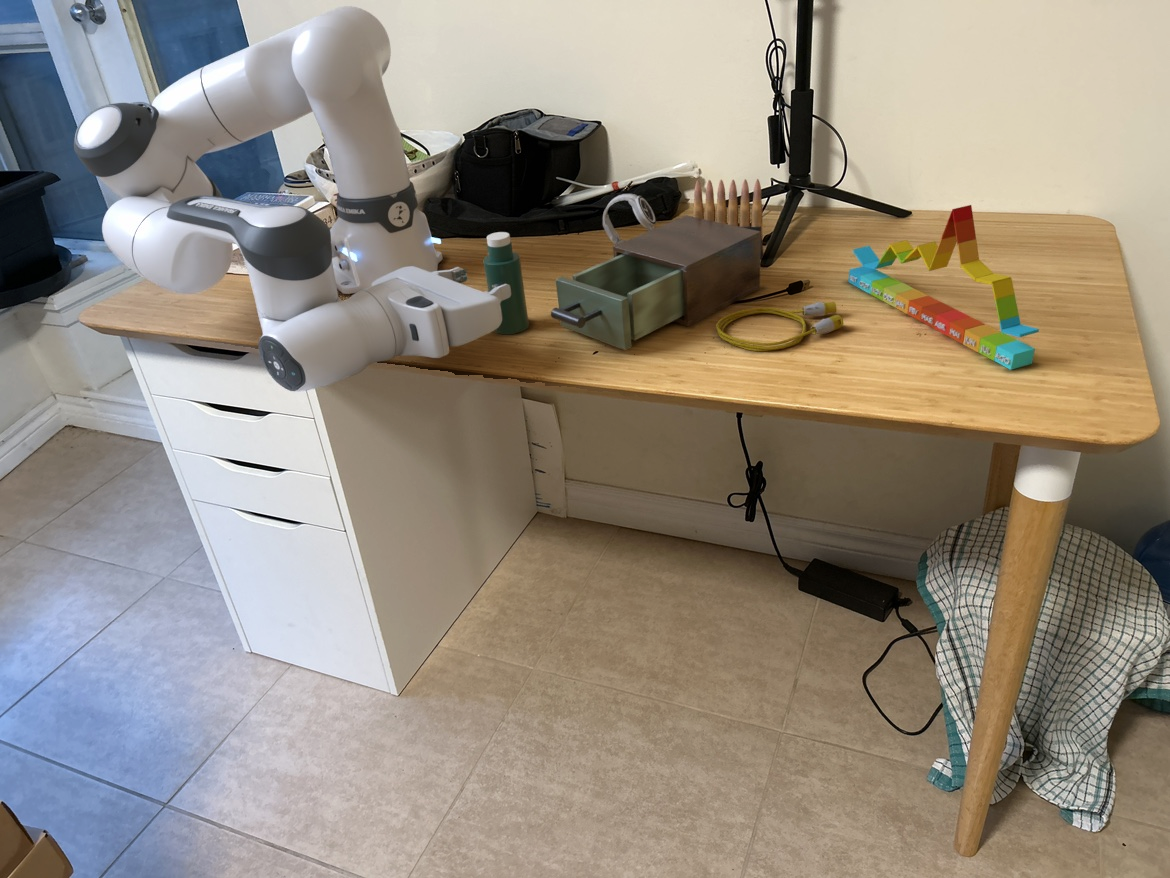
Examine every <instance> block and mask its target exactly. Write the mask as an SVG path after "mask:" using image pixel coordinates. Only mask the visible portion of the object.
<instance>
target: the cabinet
mask: <svg viewBox="0 0 1170 878" xmlns="http://www.w3.org/2000/svg"><path fill="white" fill-rule="evenodd" d="M760 236H761V231H756V230H751V229H747V228H742V227H738V226H733V225H729V224H724V223H719V222H716V220H715V221H710V220H706V219H705V218H704V219H701V218H697V217H693V215H685V216H681V217H679V218H677V219H675V220H672V221H670V222H668V223H665V224H663V225H660V226H658V227H656V228H654V229H653V230H651V231H646V232H644V233H642V234H639V235H637V236H634V237H632V238H630V239H627V240H624V241H625V242H622V243H620V244H616V245H615V244H614V245H613V246H612V254H613V255H612V256H613V258H614V257H616V256H619V255H621V254H625V255H629V256H633V257H636V258H640V259H643V260H647V261H651V262H654V263H658V264H662V265H665V266H669V267H672V268H676V269H680V270H683V293H684V315H683V316H682V317H680V318H678V319H676V320H674V321H672V322H673V323H677V324H680V325H683V326H686V327H690V326H692V325H694V324H696V323H698V322H700V321H701V320H704V319H705V318H707V317H709V316H711V315H713V314H715V313H716V312H718V311H721V310H723V309H725V308H726V307H728V306H730V305H732V304H734V303H736V302H737V301H739V300H741V299H743V298H745V297H746V296H749V295H751V294H753V293H754V292H757V291H759V290H760V289H761V259H760V250H761V237H760Z"/></svg>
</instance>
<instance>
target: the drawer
mask: <svg viewBox="0 0 1170 878" xmlns="http://www.w3.org/2000/svg"><path fill="white" fill-rule="evenodd" d="M571 277H572V279H571V278H569V277H565V276H560V277H557V278H556V279H555V287H556V295H557V304H558V307H554V308H552V310H550V311H551V312H550V317H551V318H552V319H554V320H557V321H559V322H560V326H561V327H563V328H565V329H568V330H570V331H573V332H576V333H578V334H581V335H584V336H586V337H589V338H592V339H594V340H597V341H600V342H602V343H605V344H608V345H610V346H613V347H616V348H618V349H621V350H623V351H627V350H629V349H631V348H632V347H633V346H632V341H638V340H639V339H641V338H643V337H644V336H647V335H648V334H650V333H652V332H654V331H656V330H658V329H660V328H662V327H665V326H666V325H668V324H670V323H672V322H673V321H674V320H676V319H678V318H680V317H682V316H683V315H684V293H683V270H680V269H676V268H672V267H669V266H665V265H662V264H658V263H654V262H651V261H647V260H643V259H640V258H636V257H633V256H629V255H625V254H621V255H619V256H616V257H614V256H613V257H612V258H610V259H607V260H605V261H602V262H601V263H598V264H595V265H593V266H591V267H589V268H586V269H584V270H582V271H580V272H578V273H575V274H572V276H571Z"/></svg>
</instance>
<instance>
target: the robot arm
mask: <svg viewBox="0 0 1170 878" xmlns="http://www.w3.org/2000/svg"><path fill="white" fill-rule="evenodd" d="M391 53H392V51H391V41H390V38H389V34H388V32H387V30H386V28H385V27H384V25H383V24H382V22H381V21H380V20H379V19H378V18H377V17H376V16H375V15H373V14H372V13H371V12H369V11H367V10H366V9H363V8H361V7H357V6H352V5H351V6H350V5H345V6H339V7H336V8H333V9H331V10H328V11H327V12H324V13H321V14H320V15H318V16H315V17H313V18H310V19H308V20H305V21H304V22H302V23H299V24H297V25H295V26H293V27H291V28H288V29H285V30H283V31H281V32H279V33H277V34H274V35H272V36H270V37H268V38H266V39H264V40H261V41H259V42H256V43H254V44H252V45H250V46H247V47H245V48H243V49H241V50H238V51H236V52H234V53H232V54H229V55H227V56H225V57H222V58H219V59H218V60H215V61H214V62H211V63H209V64H206V65H205V66H202V67H199V68H197V69H196V70H194V71H191V72H190V73H188V74H186V75H184V76H183V77H181V78H179V79H178V80H176V81H175V82H173V83H171V85H168V86H167V87H166V88H165V89H163V90H162V91H161V92H160V93H158V94H157V95H156V97H154V99H153V100H152V102H151V104H150V103H147V102H144V101H134V102H130V103H129V102H114V103H109V104H105V105H102V106H100V107H97V108H96V109H94V110H92V111H91V112H89V113H88V114H87V115H86V116H84V118H83V119H82V120H81V122H80V123H79V124H78V125H77V128H76V131H75V134H74V140H73V150H74V153H75V154H76V156H77V158H78V159H79V160H80V162H81V163H82V164H83V166H84V167H85V168H86V169H87V170H88V171H89V172H90V173H91V174H92V175H93V176H95V177H97V178H98V179H99V180H100V181H101V182H102V183H103V184H104V185H105V186H106V187H107V188H108V189H109V191H111V192H112V193H113V194H114V195H115V196H117V198H118V199H119V200H117V201H115V202H114V203H113V204H111V206H110V207H109V208H107V211H106V212H105V214H104V217H103V220H102V224H101V232H102V237H103V240H104V243H105V245H106V246H107V248H108V249H109V251H110V252H111V253H112V254H113V255H114V256H115V257H116V258H117V259H118V260H119V261H121V262H122V263H123V265H125V266H126V267H128V269H130V271H133V272H134V273H136V274H137V275H138V276H141V277H142V278H143V279H145V280H146V281H149V282H150V283H152V284H154V285H155V286H158V287H159V288H161V289H164V290H165V291H168V292H171V293H174V294H178V295H183V296H184V295H186V296H193V295H199V294H202V293H204V292H207V291H209V290H211V289H213V288H214V287H215V286H217V285H218V284H219V283H220V282H221V281H222V280H223V279H224V278H225V276H226V275H227V273H228V271H229V270H230V268H231V265H232V262H233V258H234V247H233V244H234V245H236V246H237V247H238V249H239V251H240V253H241V255H242V257H243V260H244V263H245V266H246V270H247V274H248V278H249V282H250V285H251V290H252V294H253V298H254V302H255V307H256V311H257V316H258V320H259V323H260V328H261V332H262V335H261V336H260V338H259V340H258V345H257V346H258V354H259V357H260V360H261V362H262V364H263V367H264V368H265V369H266V372H268V374H269V375H270V377H271V378H272V379H273V380H274V381H275V382H276V383H277V384H278V385H279V386H280V387H281V388H284V389H285V390H287V391H289V392H293V393H298V392H299V393H300V392H306V391H312V390H316V389H319V388H323V387H327V386H330V385H333V384H335V383H338V382H341V381H343V380H346V379H348V378H350V377H353V376H355V375H357V374H359V373H361V372H362V371H364V370H365V369H367V367H369V366H370V365H372V364H375V363H378V362H386V361H389V360H392V359H394V358H397V357H398V356H401V357H409V356H415V357H416V356H417V357H424V358H431V359H440V358H444V357H446V356H447V355H448V354H449V353H450V347H453V348H454V347H461V346H464V345H467V344H469V343H472V342H474V341H475V340H478V339H480V338H482V337H484V336H486V335H488V334H491V333H492V332H495V330H496V329H497V328H498V327H499V326H500V324H501V322H502V313H501V307H500V303H501V301H503V300H505V299H507V298H509V297H510V296H511V289H510V285H508V284H505V283H502V282H500V283H498V284H495V285H492V289H493V290H491V291H490V292H488V290H486V291H483V290H480V289H478V288H474V287H471V286H468V285H465V284H463V283H466V282H467V281H468V272H467V269H465V268H462V267H459V266H456V267H454V268H452V269H444V270H438V269H439V263H440V262H442V261H443V259H444V258H443V253H442V252H441V251H438V250H436V248H435V244H438V245H440V244H442V241H441V238H438V237H432V232H431V230H430V225H429V223H428V218H427V216H426V214H425V213H424V212H423V211H421V210H420V209H418V208H417V207H418V205H419V203H418V199H417V196H418V195H417V192H416V189H415V185H414V183H413V182H412V181H411V179H410V174H409V169H408V164H407V163H408V162H407V159H406V155H405V149H404V148H405V147H404V144H403V139H402V133H401V130H400V128H399V125H397V122H396V120H395V117H394V115H393V111H392V109H391V106H390V103H389V100H388V96H387V93H386V89H385V86H384V83H383V82H384V81H383V76H384V74H385V73H386V71H387V69H388V67H389V65H390V61H391V56H392V55H391ZM311 113H313V115H314V118H315V120H316V122H317V124H318V127H319V129H320V131H321V134H322V136H323V140H324V142H325V145H326V149H327V152H328V156H329V157H328V158H329V160H330V165H331V168H332V172H333V177H334V180H335V184H336V188H337V193H333V197H336V198H335V199H334V201H335V202H336V203H335V204H336V206H335V207H336V213H337V214H336V215H337V217H338V218H336V220H335V222H334V223H333V225H332V226H330V227H329V226H328V224H327V223H326V222H325V221H324V220H322V218H320V217H319V216H318V215H316V214H315V213H314V212H312V211H311V210H309V209H307V208H304V207H303V206H299V205H287V204H286V205H284V204H281V205H277V204H276V205H275V204H273V205H271V204H262V203H255V202H250V201H244V200H239V199H234V198H229V197H228V198H227V197H224V196H223V195H222V193H221V191H220V190H219V188H218V186H217V184H216V183H215V182H214V181H213V179H211V178H210V177H208V176H207V175H206V174H205V172H203V170H202V169H201V168H200V166H199V165H197V163H196V162H197V161H198V160H199V159H200V158H201V157H202V156H203V155H205V154H210V153H215V152H218V151H223V150H226V149H229V148H231V147H235V146H238V145H240V144H243V143H245V142H248V141H250V140H253V139H255V138H258V137H260V136H263V135H264V134H267V133H270V132H271V131H274V130H277V129H279V128H281V127H283V126H286V125H288V124H291V123H293V122H296V121H297V120H299V119H301V118H303V117H305V116H306V115H309V114H311ZM338 292H341V293H342V294H344V295H351V294H352V295H351V296H350V297H348V298H346V299H345V300H342V299H341V298H340V297H339V293H338Z"/></svg>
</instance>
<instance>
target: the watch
mask: <svg viewBox="0 0 1170 878" xmlns="http://www.w3.org/2000/svg"><path fill="white" fill-rule="evenodd" d="M622 201H627V202H628V204H629V205H630V206H631V208H632V212H633V214H634V216H635V218H636V220H637V221H638V222H639V223H640V225H641V226H643V228H645V229H646V232H648V231H651V230H653V229H655V226H656V224H657V218H656V215H655V213H654V210H653V209H652V207H651V205H650V203H649V202H648V201H647V199H646V198H644V197H643V196H642V195H637V194H635V193H634V194H633V193H622V194H618V195H617V196H615V197H613V198H612V199H611V200H610V201H609V202H608V204H607V206H606V207H605V209H604V211H603V214H602V228H603V229H604V231H605V233H606V236H607V237H608V238H609V240H610V241H611V242H612V244H614V246H615V245H617V244H620V243H622V242H625V241H626V240H622V239H621V238H620V237H621V235H619V233H618V232H617V231H616V230H615V228H614V225H613V223H612V222H611V219H610V215H609V214H608V211H609V208H610V207H611V206H613V205H614V204H615V203H617V202H618V203H619V202H622Z"/></svg>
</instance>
